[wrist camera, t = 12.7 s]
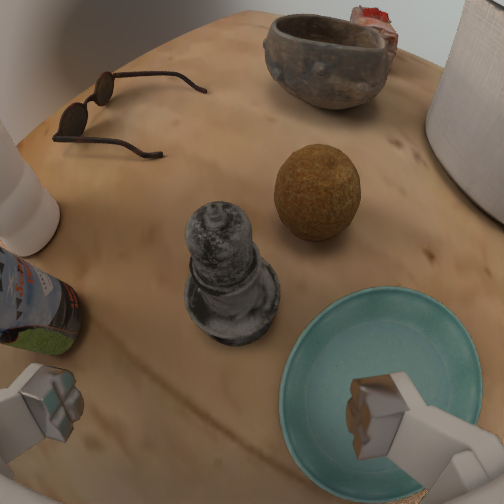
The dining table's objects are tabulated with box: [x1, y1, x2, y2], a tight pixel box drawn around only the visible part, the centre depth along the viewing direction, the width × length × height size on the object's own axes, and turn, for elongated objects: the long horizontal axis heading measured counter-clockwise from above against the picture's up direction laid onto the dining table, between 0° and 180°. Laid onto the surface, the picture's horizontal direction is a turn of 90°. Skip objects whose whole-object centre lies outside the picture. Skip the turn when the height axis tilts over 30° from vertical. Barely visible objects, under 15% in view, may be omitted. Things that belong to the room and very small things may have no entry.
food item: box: [350, 6, 398, 69], centre depth 38 cm, size 14×8×10 cm, turn 170°
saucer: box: [279, 286, 483, 503], centre depth 17 cm, size 15×15×3 cm
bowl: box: [263, 14, 391, 110], centre depth 30 cm, size 14×15×10 cm
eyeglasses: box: [52, 71, 207, 158], centre depth 32 cm, size 15×15×5 cm
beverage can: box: [0, 247, 81, 355], centre depth 16 cm, size 6×7×12 cm
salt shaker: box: [184, 201, 280, 346], centre depth 16 cm, size 6×6×12 cm
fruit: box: [274, 144, 361, 241], centre depth 22 cm, size 6×6×8 cm
